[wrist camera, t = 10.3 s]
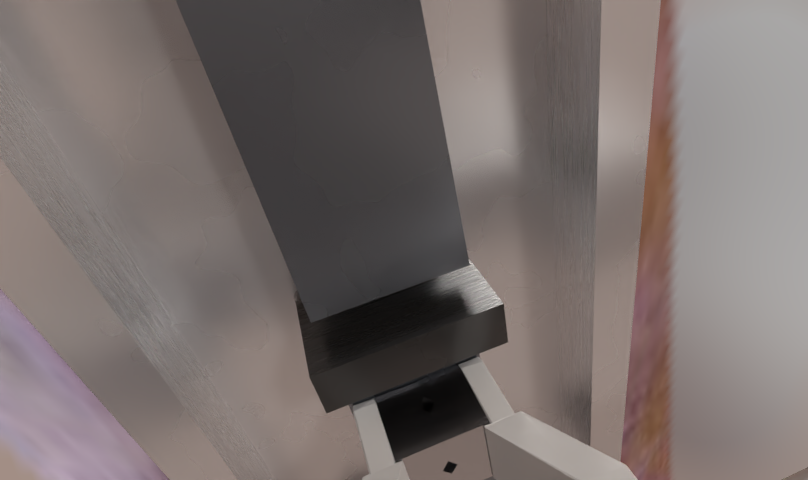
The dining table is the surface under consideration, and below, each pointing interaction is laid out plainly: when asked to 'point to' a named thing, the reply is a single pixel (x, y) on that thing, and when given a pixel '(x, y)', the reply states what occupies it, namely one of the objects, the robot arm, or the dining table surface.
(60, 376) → the dining table surface
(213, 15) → the strap
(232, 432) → the fuse holder
